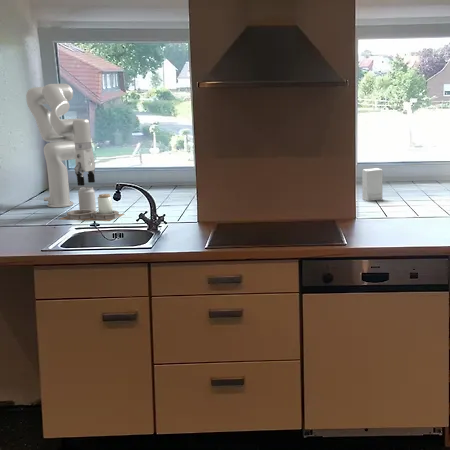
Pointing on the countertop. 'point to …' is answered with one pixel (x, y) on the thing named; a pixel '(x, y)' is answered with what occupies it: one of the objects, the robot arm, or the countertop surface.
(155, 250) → the countertop surface
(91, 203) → the can
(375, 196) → the skincare box
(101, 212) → the jar
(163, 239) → the countertop surface
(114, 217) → the stand
